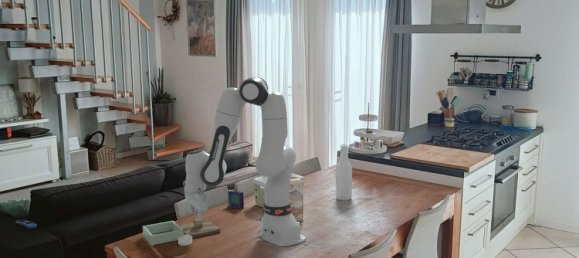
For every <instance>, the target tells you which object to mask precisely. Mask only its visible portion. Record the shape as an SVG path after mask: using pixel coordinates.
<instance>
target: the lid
mask: <svg viewBox="0 0 579 258" xmlns="http://www.w3.org/2000/svg"><path fill="white" fill-rule="evenodd" d="M178 225H179V226H180V227H181V228H182V229H183V234H184V235H191V236H192V239H195V238H200V237H205V236H206V237H207V236H211V235H215V234H219V233H221V228H220V227H218V226H217V225H216V224H214V223H213V222H211V220H209V219H204V220H203V218H202V219H199V218H198V217H197V218H194V219H193V222H188V223H181V224H178Z"/></svg>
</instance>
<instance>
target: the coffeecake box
mask: <svg viewBox="0 0 579 258" xmlns="http://www.w3.org/2000/svg"><path fill="white" fill-rule="evenodd" d="M289 202H290V205H291V208H292V209H291V210H292V214H293V216H294V217H295V219H296V221H297V222H302V221H304V187H303V181H302V180H301V179H292V178H291V179H290V186H289Z"/></svg>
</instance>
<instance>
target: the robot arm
mask: <svg viewBox="0 0 579 258" xmlns="http://www.w3.org/2000/svg"><path fill="white" fill-rule="evenodd" d="M247 103H248V104H251V105H254V106H258V107H260V110H261V112H260V113H261V132H262V133H261V134H262V135H261V136H262V137H261V144H260V149H259V153H258V157H257V159H256V160H255V163H254V164H255V171H256V172H257V173H258V174H259V176H260V177H262V176H263V177H268V179H267V182H266V184H265V187H264V192H265V203H264V208H263V216H262V217H261V224H260V232H259V234H258V237H259V238H260V239H261V240H263V241H266V242H268V243H271V244H272V245H275V246H277V247H288V246H293V245H298V244H301V243H304V242H305V241H306V240H307V238H306V237H305V236H304V234H303V233H301V221H296V219H295V217H294V216H293V214H292V210H291V209H292V208H291V205H290V202H289V186H290V179H292V178H291V174H292V173H293V168H294V165H295V163H296V160H297V154H296V152H295V150H294V149H293V148H292V147H290V146H288V145H287V146H285V144H286V141H287V138H288V134H289V132H288V115H287V114H288V112H287V105H286V100H285V97H284V95H283V94H281V93H280V92H277V91H270V90H269V85H268V83H267V81H266V80H265V79H263V78H262V77H258V76H251V77H248V78H246V79H245V80H243V81H242V83H240V85H239V87H227V88H225V89H224V90H223V92H222V94H221V96H220V98H219V101H218V104H217V108H216V112H215V116H214V128H213V129H214V130H213V140H212V144H211V148H210V152H209V153H207V152H206V151H205V150H203V149H195V150H194V149H193V150H191V151H189V152H188V153H187V154H186V157H185V173H186V174H185V175H186V176H185V180H184V181H183V182H182V185H183V187H184V198H185V200H186V201H187V202H188V205H189V208H190V210H189V211H190V212H191V213H192V214H193V213H195V212H196V210H197V212H198V213H197V219H198V218H199V219H202V220H203V214H204V212H207V211H208V209H209V208H208V197H207V194H206V193H205V190H206V189H207V186H209V187H216V186H218V185H220V184H221V183H222V182H223V181H224V177H225V175H226V171H227V169H228V165H227V163H226V161H225V156H226V152H227V148H228V145H229V143H230V140H231V139H232V137H233V135H234V134H235V132H236V131H237V129H238V127H239V124H240V121H241V118H242V116H243V115H242V114H243V110H244V108H245V106H246V104H247Z"/></svg>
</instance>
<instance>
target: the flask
mask: <svg viewBox="0 0 579 258" xmlns="http://www.w3.org/2000/svg"><path fill="white" fill-rule="evenodd" d="M244 201H245V200H244V191H243V190H241V189H240V190H239V189H238V186H237V187H234V188H233V189H229V190H227V207H228V208H232V209H240V210H243V209H245V203H244Z"/></svg>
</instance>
